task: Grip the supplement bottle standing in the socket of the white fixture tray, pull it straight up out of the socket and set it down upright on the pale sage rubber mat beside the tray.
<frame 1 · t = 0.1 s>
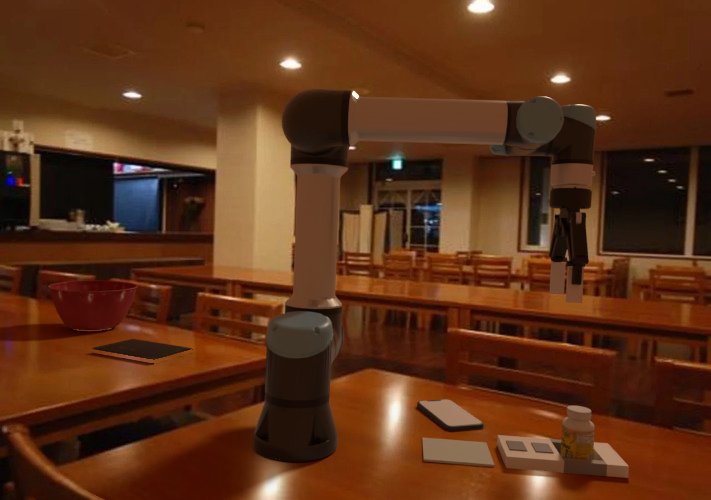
hand: (564, 298, 109), 28 cm above the table, tool pointing down, fingers open, 13 cm apart
supplement bottle: (576, 463, 100), resting in white fixture tray
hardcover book: (143, 356, 165), on the table
phone case: (448, 419, 121), on the table
white fixture tray: (558, 460, 100), on the table
rubber mat: (456, 452, 102), on the table
mixing bowl: (93, 329, 198), on the table
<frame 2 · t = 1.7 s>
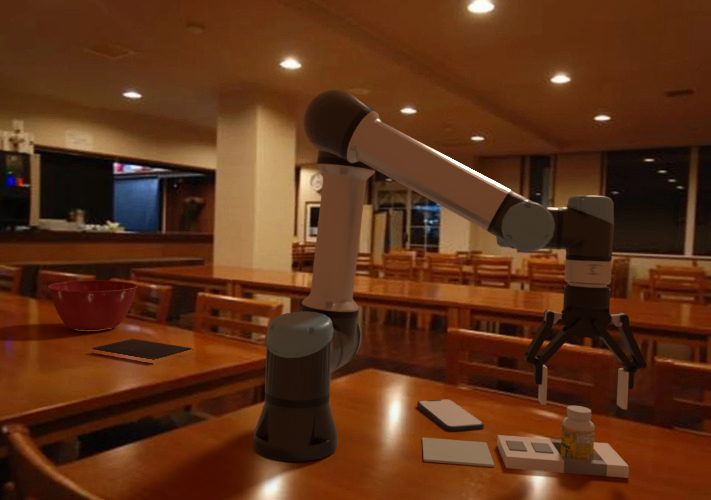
hand: (581, 404, 99), 10 cm above the table, tool pointing down, fingers open, 13 cm apart
nothing on the table moved.
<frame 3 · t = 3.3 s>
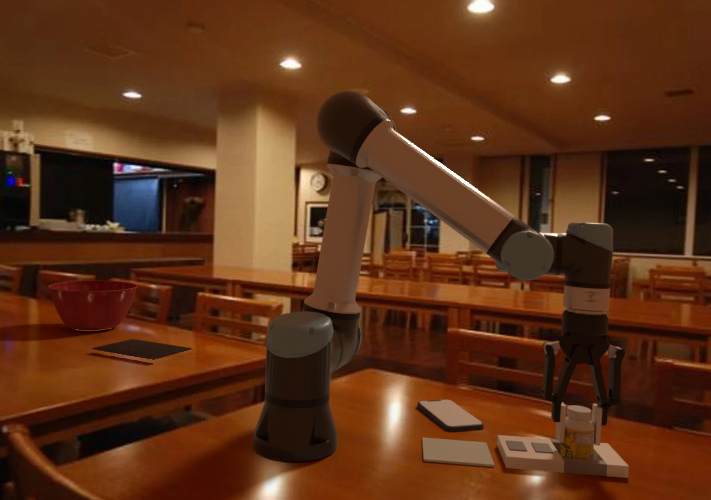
hand: (577, 440, 99), 4 cm above the table, tool pointing down, fingers closed on supplement bottle, 5 cm apart
supplement bottle: (576, 463, 100), resting in white fixture tray, touching gripper
everything else where it was.
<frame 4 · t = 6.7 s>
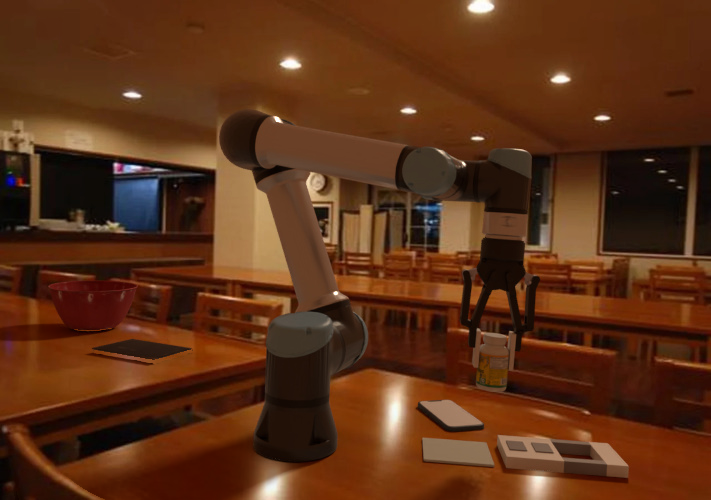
hand: (492, 366, 101), 16 cm above the table, tool pointing down, fingers closed on supplement bottle, 5 cm apart
supplement bottle: (490, 388, 101), point 12 cm above the table, touching gripper
everything else where it was.
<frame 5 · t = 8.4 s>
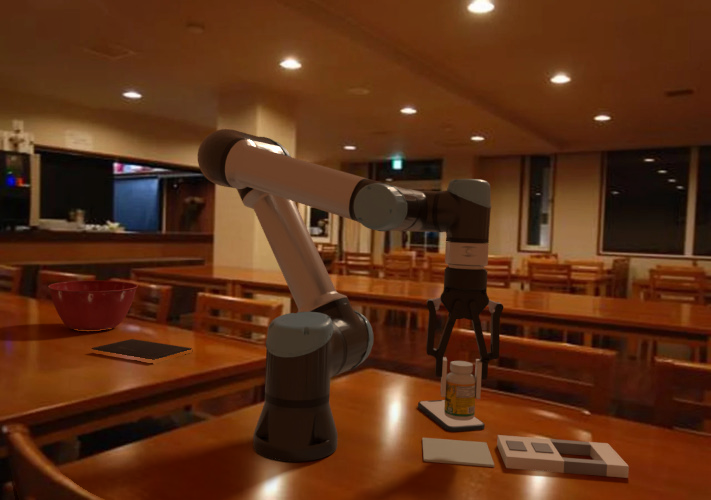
hand: (460, 395, 101), 10 cm above the table, tool pointing down, fingers closed on supplement bottle, 5 cm apart
supplement bottle: (459, 417, 101), point 7 cm above the table, touching gripper
everything else where it was.
when the fingers open (6 cm above the table, at t = 9.9 s): supplement bottle drops 2 cm, resting on rubber mat.
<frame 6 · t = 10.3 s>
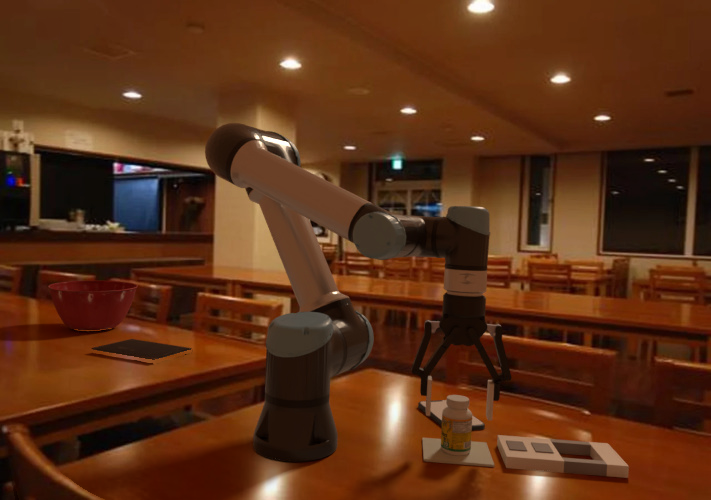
hand: (458, 415, 101), 7 cm above the table, tool pointing down, fingers open, 10 cm apart
supplement bottle: (455, 451, 102), resting on rubber mat
everything else where it was.
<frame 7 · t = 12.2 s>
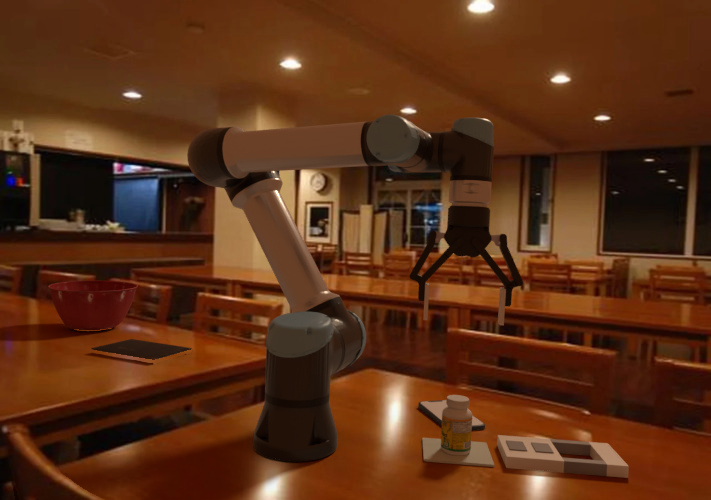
hand: (462, 321, 103), 23 cm above the table, tool pointing down, fingers open, 13 cm apart
nothing on the table moved.
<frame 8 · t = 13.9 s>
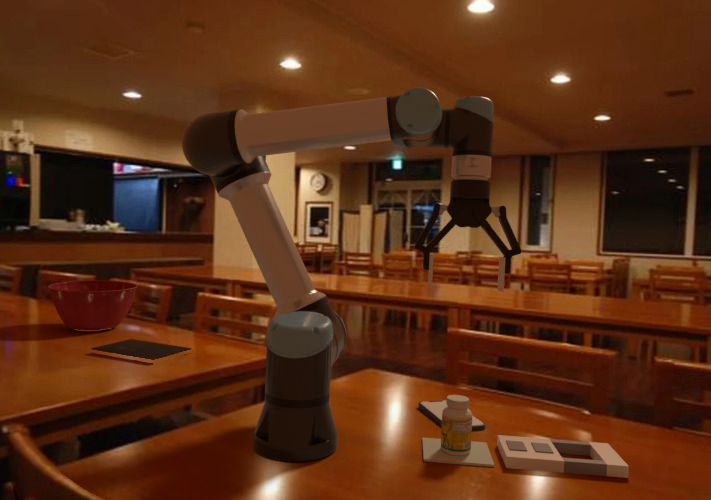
hand: (464, 289, 110), 29 cm above the table, tool pointing down, fingers open, 13 cm apart
nothing on the table moved.
at the end: supplement bottle inside the target area on the rubber mat (0.2 cm from its centre), point 0.2 cm above the rubber mat's base; supplement bottle tilted 0°; the gripper is holding nothing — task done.
